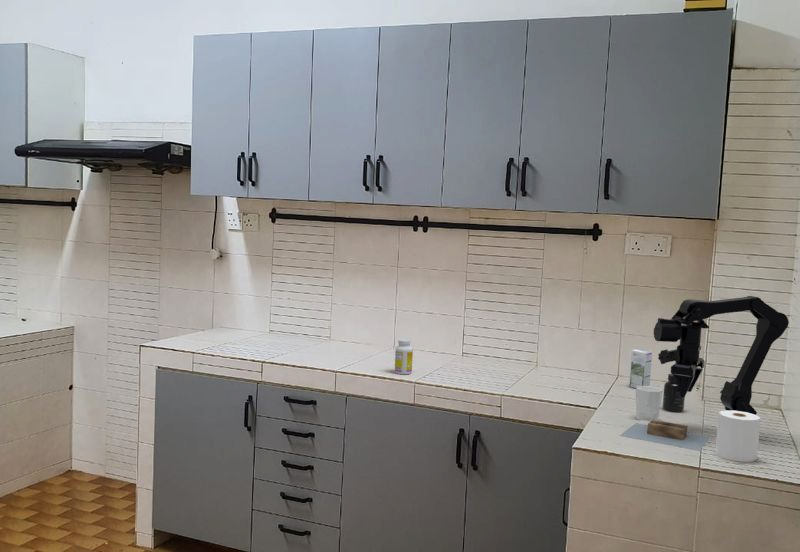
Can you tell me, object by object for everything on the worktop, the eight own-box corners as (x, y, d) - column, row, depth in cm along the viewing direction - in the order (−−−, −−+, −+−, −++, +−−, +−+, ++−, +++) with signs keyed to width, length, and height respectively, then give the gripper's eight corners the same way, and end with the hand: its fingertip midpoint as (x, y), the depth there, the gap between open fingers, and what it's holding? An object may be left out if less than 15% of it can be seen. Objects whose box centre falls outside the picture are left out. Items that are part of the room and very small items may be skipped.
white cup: (639, 414, 257) (642, 384, 256) (663, 419, 252) (666, 389, 251) (630, 419, 251) (632, 388, 250) (654, 424, 246) (656, 392, 245)
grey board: (711, 438, 232) (711, 429, 232) (699, 453, 217) (700, 443, 216) (635, 425, 243) (636, 416, 243) (619, 438, 228) (620, 428, 228)
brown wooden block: (686, 435, 231) (687, 425, 231) (682, 440, 226) (683, 430, 226) (652, 429, 236) (652, 419, 236) (647, 433, 231) (647, 423, 231)
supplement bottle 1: (411, 371, 308) (413, 339, 307) (412, 375, 301) (413, 341, 300) (394, 371, 308) (395, 338, 307) (394, 374, 301) (396, 341, 300)
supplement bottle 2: (657, 408, 267) (660, 373, 266) (673, 407, 270) (676, 372, 269) (672, 413, 261) (675, 377, 260) (688, 412, 264) (691, 376, 263)
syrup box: (650, 388, 298) (653, 350, 297) (643, 390, 294) (645, 352, 292) (636, 385, 302) (638, 348, 301) (628, 387, 298) (631, 349, 296)
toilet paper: (708, 452, 218) (712, 409, 217) (745, 453, 219) (748, 410, 218) (725, 464, 208) (729, 419, 207) (763, 465, 209) (767, 420, 208)
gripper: (669, 335, 246) (665, 385, 247) (654, 342, 230) (650, 395, 231) (706, 340, 240) (702, 390, 241) (694, 347, 224) (690, 401, 225)
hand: (685, 394), depth 235 cm, fingers open, 9 cm apart
